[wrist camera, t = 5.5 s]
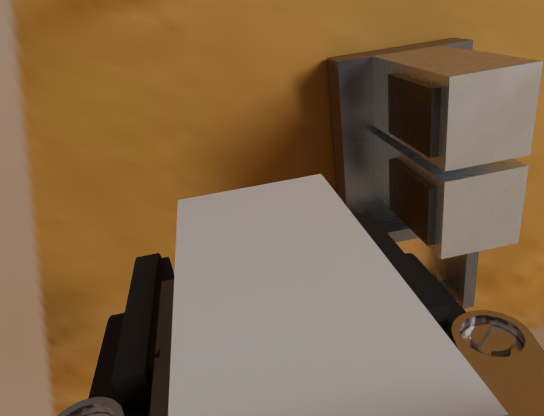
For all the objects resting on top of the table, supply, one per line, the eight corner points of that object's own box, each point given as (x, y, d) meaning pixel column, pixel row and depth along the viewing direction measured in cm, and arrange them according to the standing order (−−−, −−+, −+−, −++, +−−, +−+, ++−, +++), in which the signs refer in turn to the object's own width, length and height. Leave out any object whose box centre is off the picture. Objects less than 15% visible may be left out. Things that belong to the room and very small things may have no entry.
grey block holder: (327, 57, 26) (401, 84, 17) (453, 37, 27) (588, 53, 18) (343, 294, 33) (401, 399, 24) (442, 272, 34) (532, 366, 25)
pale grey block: (163, 202, 12) (125, 510, 5) (321, 173, 12) (508, 414, 5) (193, 318, 14) (200, 670, 6) (330, 289, 14) (478, 587, 7)
